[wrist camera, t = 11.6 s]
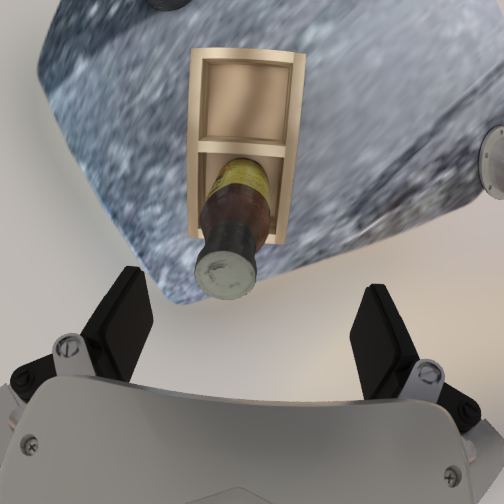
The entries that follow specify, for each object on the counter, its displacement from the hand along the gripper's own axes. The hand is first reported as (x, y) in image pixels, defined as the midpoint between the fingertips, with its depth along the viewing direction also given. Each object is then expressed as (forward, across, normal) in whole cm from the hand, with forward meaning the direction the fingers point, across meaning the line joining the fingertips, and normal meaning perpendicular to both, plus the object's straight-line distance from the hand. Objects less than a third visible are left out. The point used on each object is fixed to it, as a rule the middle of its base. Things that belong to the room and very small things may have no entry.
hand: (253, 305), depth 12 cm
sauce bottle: (+26, +2, +2) cm, 26 cm away
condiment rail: (+27, +2, -2) cm, 27 cm away
